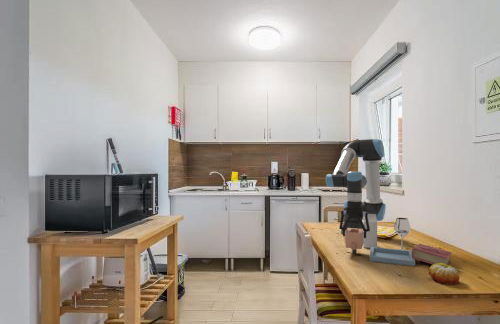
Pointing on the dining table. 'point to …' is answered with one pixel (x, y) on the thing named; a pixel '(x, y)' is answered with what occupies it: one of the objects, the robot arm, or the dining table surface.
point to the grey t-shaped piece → (354, 252)
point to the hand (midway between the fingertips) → (354, 243)
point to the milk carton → (372, 234)
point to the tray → (391, 256)
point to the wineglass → (402, 228)
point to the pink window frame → (353, 238)
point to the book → (430, 254)
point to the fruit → (444, 273)
